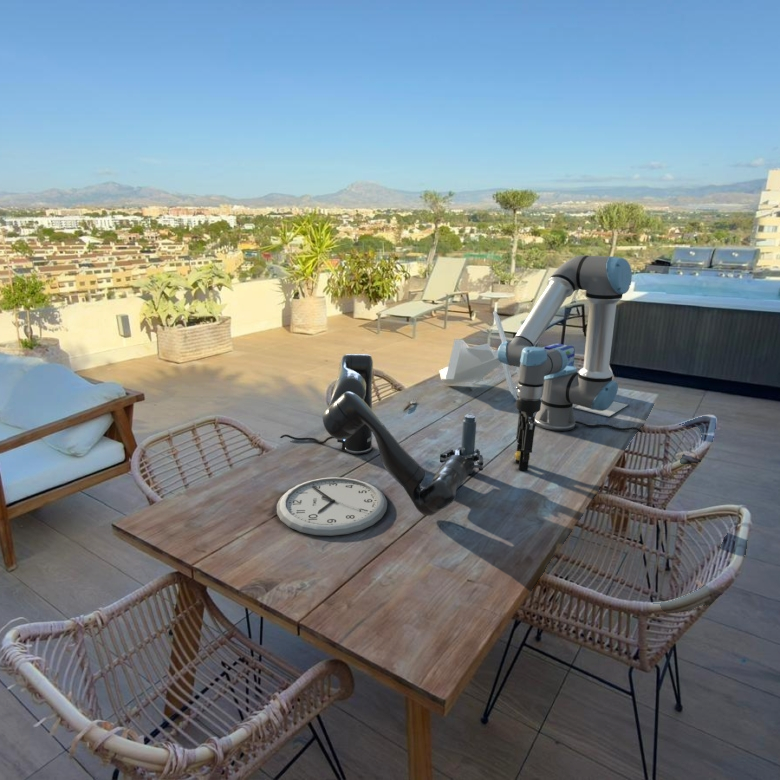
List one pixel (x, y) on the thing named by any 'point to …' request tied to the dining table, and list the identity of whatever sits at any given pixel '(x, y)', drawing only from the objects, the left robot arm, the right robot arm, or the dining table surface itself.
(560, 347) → the lunch box
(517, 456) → the lid
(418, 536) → the dining table surface
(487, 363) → the white plastic object
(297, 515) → the wall clock
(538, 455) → the dining table surface
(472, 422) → the gray cylinder
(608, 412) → the invitation card
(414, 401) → the fork
